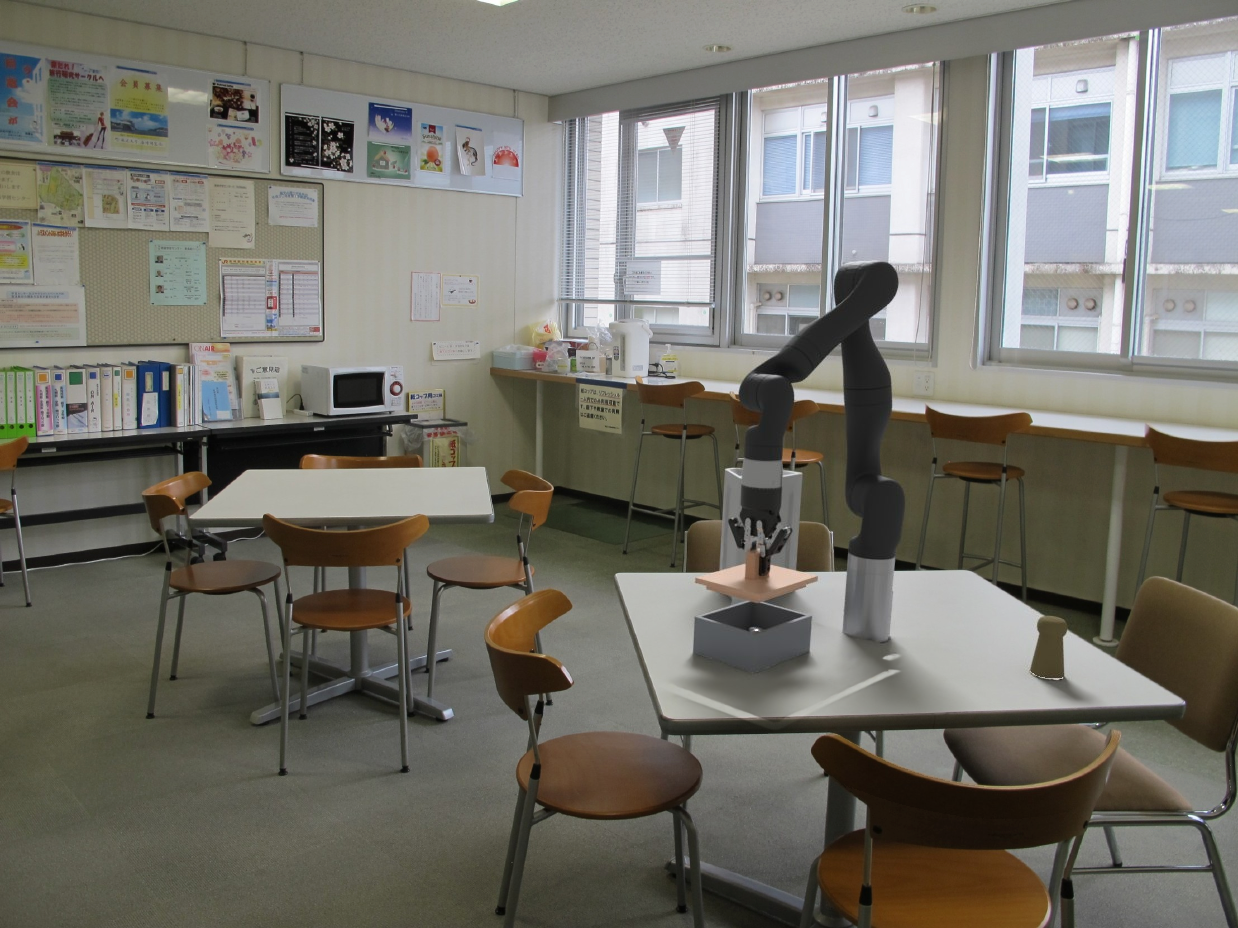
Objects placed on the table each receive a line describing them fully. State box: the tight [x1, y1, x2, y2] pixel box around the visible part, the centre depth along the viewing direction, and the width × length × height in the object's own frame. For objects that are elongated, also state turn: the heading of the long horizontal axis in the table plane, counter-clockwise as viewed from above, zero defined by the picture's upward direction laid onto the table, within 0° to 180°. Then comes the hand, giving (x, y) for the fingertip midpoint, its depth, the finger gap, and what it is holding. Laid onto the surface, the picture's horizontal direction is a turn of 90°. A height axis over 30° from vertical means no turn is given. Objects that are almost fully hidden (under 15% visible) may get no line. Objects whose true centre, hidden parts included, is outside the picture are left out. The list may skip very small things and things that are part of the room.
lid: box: [694, 548, 819, 603], centre depth 187 cm, size 19×15×7 cm
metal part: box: [749, 627, 764, 633], centre depth 193 cm, size 3×3×3 cm
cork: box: [1029, 615, 1068, 678], centre depth 185 cm, size 6×6×11 cm
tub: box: [692, 600, 813, 674], centre depth 189 cm, size 18×14×8 cm
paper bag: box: [719, 467, 803, 600], centre depth 233 cm, size 19×15×28 cm
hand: (757, 573), depth 187 cm, fingers closed on lid
